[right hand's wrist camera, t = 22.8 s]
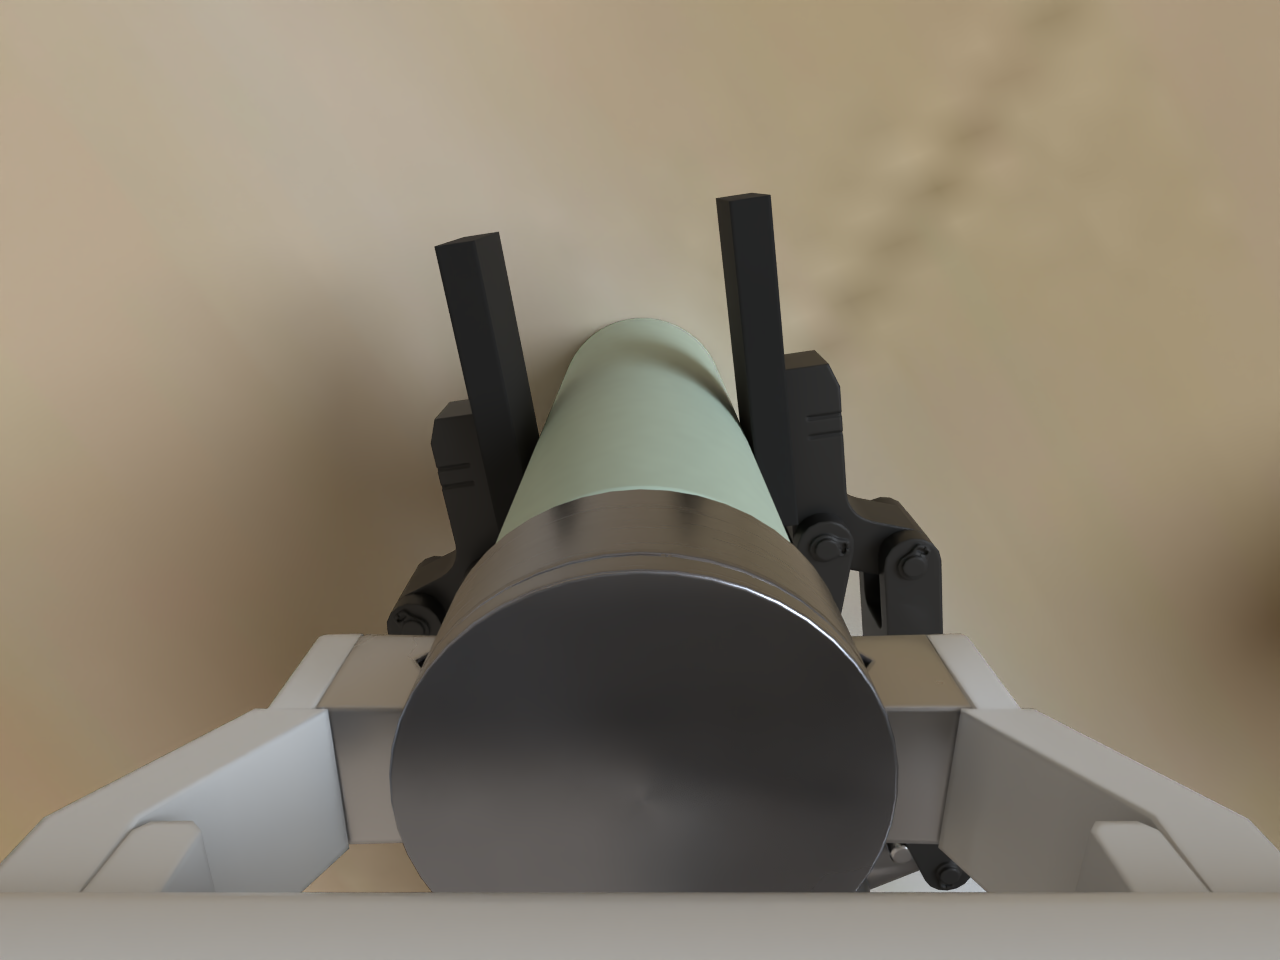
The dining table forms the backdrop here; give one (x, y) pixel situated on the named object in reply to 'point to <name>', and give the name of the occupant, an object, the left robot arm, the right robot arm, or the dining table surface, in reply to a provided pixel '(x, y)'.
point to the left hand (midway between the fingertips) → (604, 220)
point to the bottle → (642, 427)
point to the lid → (643, 714)
